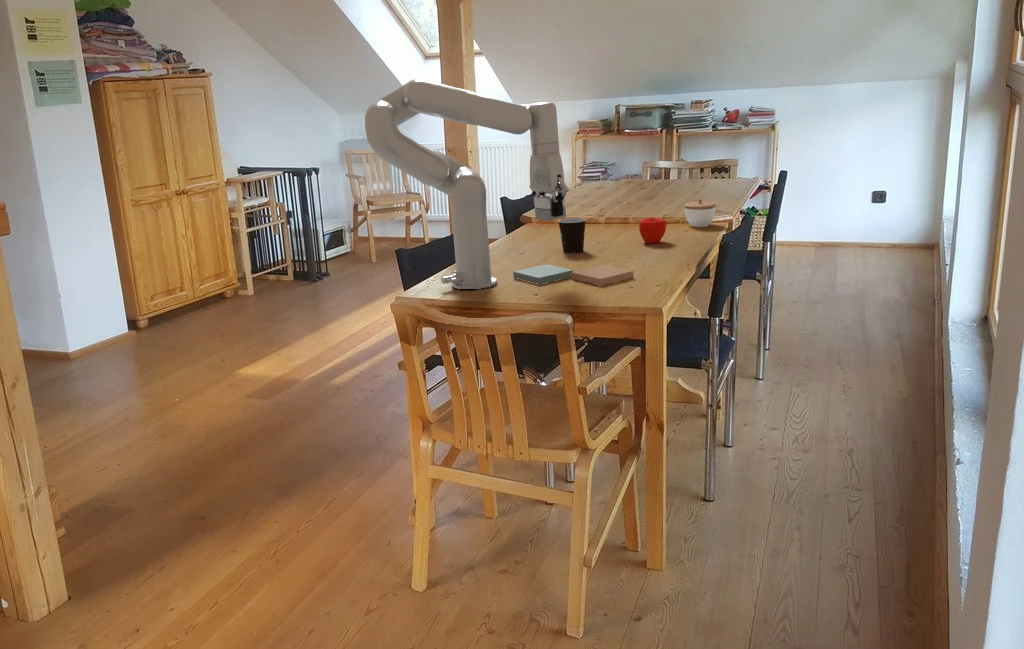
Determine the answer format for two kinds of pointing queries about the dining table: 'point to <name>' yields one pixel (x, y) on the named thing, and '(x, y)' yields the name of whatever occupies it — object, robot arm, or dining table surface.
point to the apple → (652, 229)
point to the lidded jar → (700, 213)
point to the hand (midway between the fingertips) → (550, 214)
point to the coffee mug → (572, 234)
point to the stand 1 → (543, 273)
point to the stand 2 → (602, 275)
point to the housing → (546, 207)
